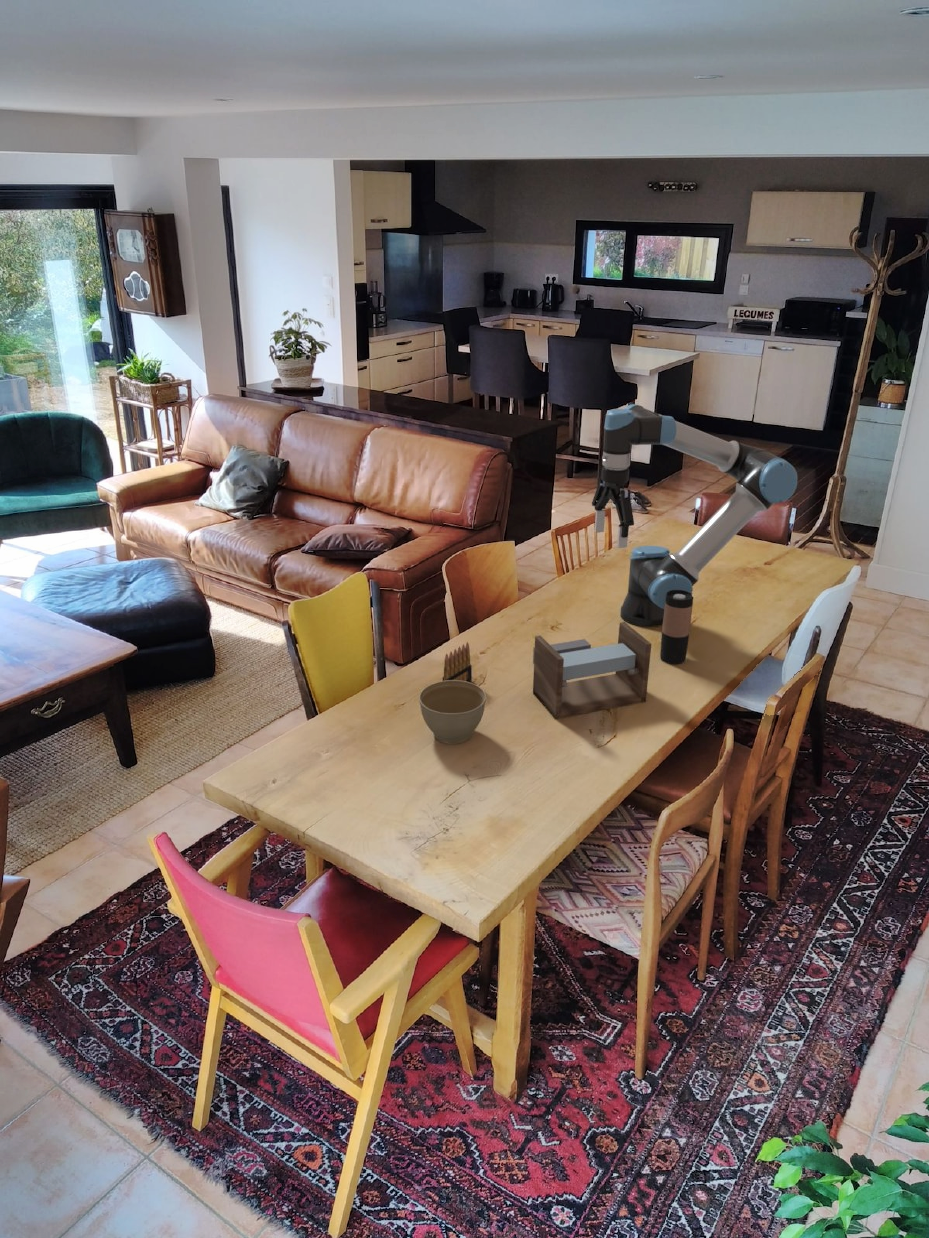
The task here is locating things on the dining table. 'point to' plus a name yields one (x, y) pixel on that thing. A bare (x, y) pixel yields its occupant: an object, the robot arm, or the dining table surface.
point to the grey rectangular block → (569, 646)
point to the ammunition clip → (458, 665)
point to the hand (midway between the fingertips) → (610, 539)
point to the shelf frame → (590, 680)
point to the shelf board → (597, 661)
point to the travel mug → (676, 626)
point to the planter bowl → (452, 709)
